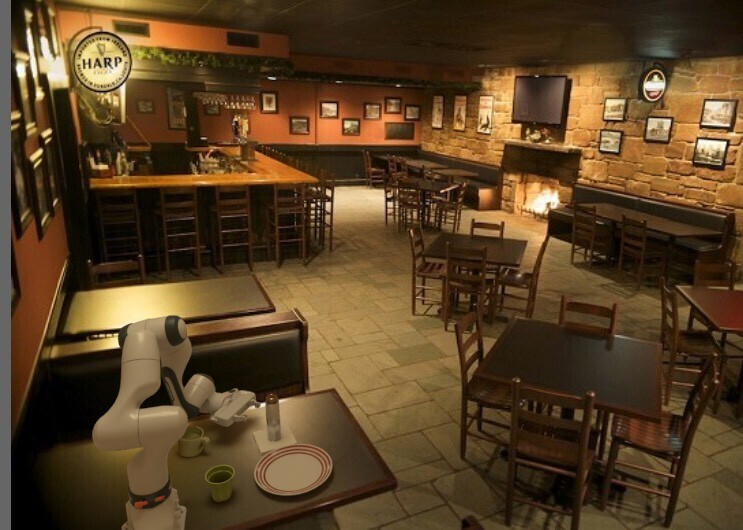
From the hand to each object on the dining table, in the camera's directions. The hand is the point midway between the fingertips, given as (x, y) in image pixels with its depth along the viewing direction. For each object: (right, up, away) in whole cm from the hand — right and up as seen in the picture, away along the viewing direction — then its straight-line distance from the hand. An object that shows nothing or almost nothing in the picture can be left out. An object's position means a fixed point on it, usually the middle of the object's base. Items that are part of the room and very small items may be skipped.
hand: (253, 411), depth 199 cm
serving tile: (+8, -11, 0) cm, 14 cm away
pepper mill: (+8, -10, 0) cm, 13 cm away
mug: (-20, -13, -7) cm, 25 cm away
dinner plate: (+19, -17, -18) cm, 31 cm away
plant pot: (-4, -20, -29) cm, 35 cm away
